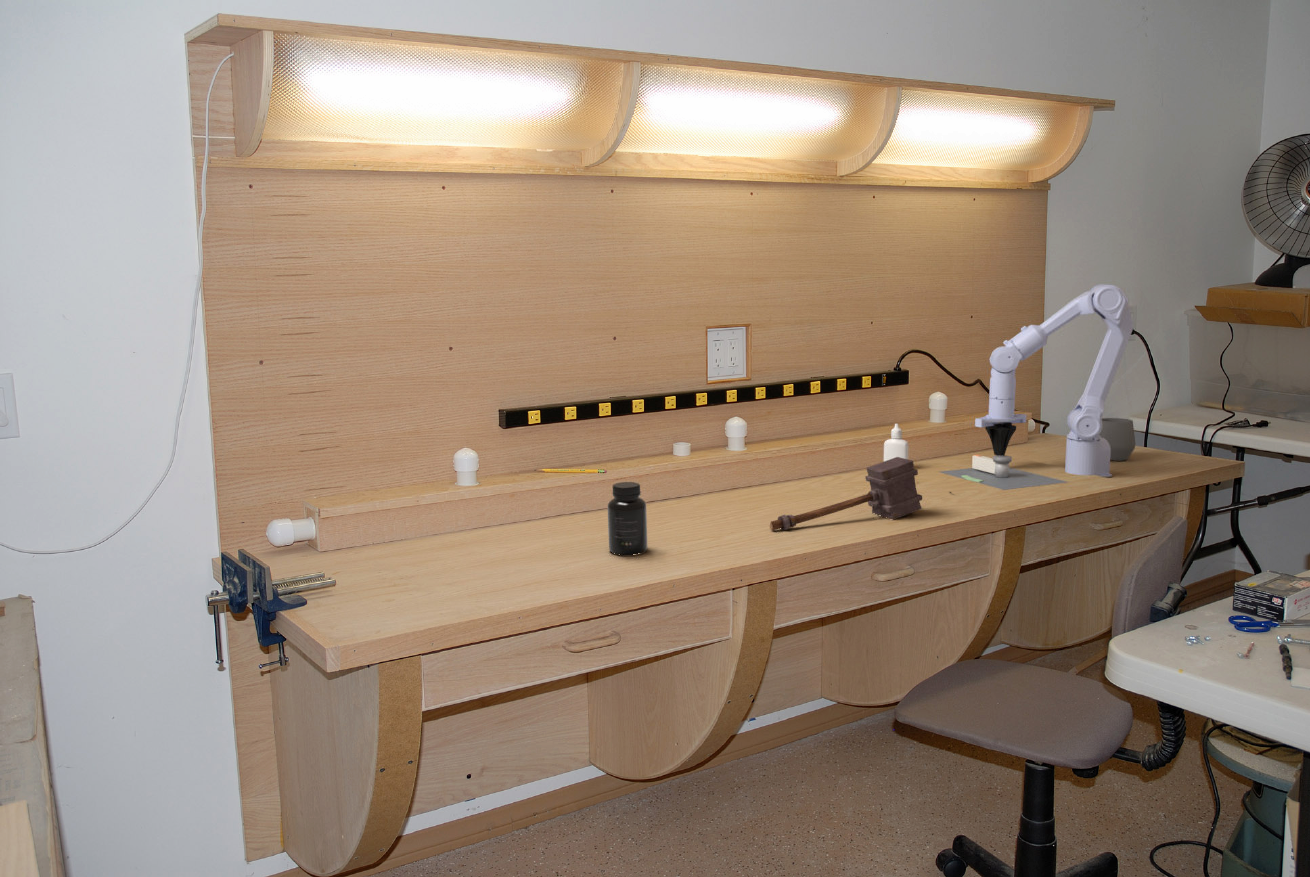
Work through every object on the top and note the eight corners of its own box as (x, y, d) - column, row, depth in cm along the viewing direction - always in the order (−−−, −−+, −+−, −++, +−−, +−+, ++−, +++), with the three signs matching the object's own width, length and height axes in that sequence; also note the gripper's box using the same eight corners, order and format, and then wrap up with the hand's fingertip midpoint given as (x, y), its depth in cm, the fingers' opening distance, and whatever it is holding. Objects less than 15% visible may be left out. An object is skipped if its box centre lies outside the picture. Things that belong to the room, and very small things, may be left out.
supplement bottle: (610, 545, 178) (608, 480, 176) (648, 545, 177) (647, 480, 175) (607, 556, 171) (605, 488, 169) (646, 556, 171) (645, 488, 169)
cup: (1085, 457, 253) (1087, 418, 252) (1116, 455, 256) (1119, 416, 254) (1110, 463, 244) (1113, 423, 243) (1143, 461, 247) (1145, 421, 245)
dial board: (998, 469, 240) (999, 463, 240) (1068, 486, 220) (1068, 480, 220) (938, 475, 233) (938, 470, 233) (1004, 494, 213) (1004, 488, 213)
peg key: (1014, 477, 225) (1015, 457, 225) (1000, 478, 224) (1001, 459, 223) (981, 468, 235) (982, 449, 235) (968, 470, 234) (968, 451, 233)
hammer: (925, 508, 196) (918, 460, 193) (786, 561, 184) (777, 511, 181) (903, 501, 202) (896, 455, 200) (767, 552, 190) (758, 504, 188)
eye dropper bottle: (894, 470, 240) (895, 421, 238) (910, 474, 236) (912, 424, 234) (880, 472, 238) (881, 423, 236) (896, 476, 233) (897, 426, 231)
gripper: (1011, 394, 239) (1008, 449, 241) (966, 398, 232) (964, 455, 234) (1034, 397, 233) (1031, 454, 235) (989, 401, 226) (986, 460, 228)
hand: (999, 455), depth 234 cm, fingers closed
